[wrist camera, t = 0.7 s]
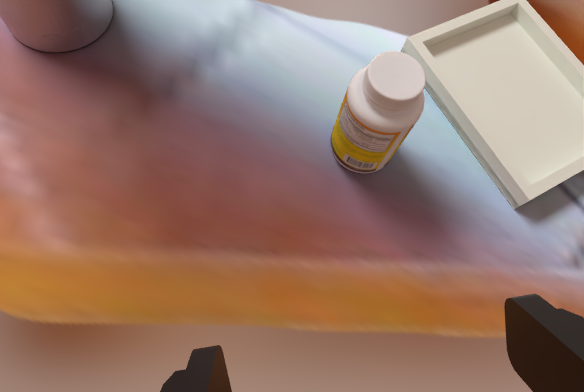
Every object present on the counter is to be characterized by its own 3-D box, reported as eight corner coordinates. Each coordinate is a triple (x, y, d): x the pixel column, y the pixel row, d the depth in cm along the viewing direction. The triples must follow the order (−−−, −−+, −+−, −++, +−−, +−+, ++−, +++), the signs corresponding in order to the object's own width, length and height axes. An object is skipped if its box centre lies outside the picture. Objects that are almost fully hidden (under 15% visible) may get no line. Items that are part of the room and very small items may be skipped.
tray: (399, 53, 42) (407, 37, 40) (507, 9, 45) (519, -8, 43) (514, 209, 37) (529, 200, 35) (624, 146, 41) (644, 135, 38)
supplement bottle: (373, 112, 39) (414, 31, 30) (401, 164, 38) (454, 96, 28) (318, 130, 38) (342, 52, 28) (344, 184, 36) (379, 121, 27)
